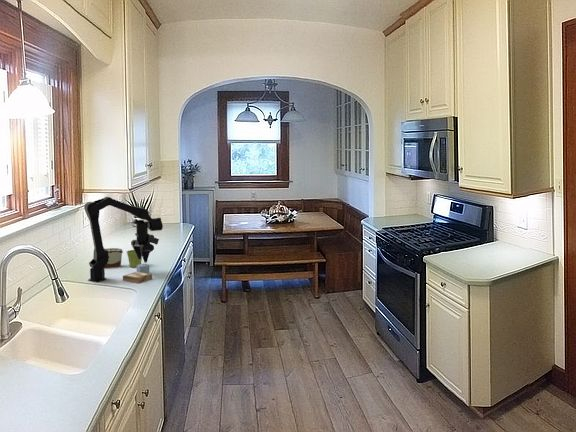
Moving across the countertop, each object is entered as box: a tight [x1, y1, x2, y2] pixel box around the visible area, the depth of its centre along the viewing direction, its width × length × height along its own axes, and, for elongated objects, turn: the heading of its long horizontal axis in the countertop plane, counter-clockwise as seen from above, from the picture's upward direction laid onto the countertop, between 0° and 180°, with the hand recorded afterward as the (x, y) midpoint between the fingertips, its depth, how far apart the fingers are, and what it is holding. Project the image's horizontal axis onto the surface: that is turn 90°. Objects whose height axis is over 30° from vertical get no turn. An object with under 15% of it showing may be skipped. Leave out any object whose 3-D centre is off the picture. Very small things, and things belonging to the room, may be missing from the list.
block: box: [136, 263, 150, 274], centre depth 269 cm, size 5×5×5 cm
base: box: [122, 271, 153, 284], centre depth 258 cm, size 10×10×3 cm
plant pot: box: [125, 249, 143, 268], centre depth 286 cm, size 9×9×9 cm
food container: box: [104, 247, 124, 269], centre depth 284 cm, size 12×6×10 cm, turn 115°
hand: (142, 260), depth 268 cm, fingers open, 9 cm apart
